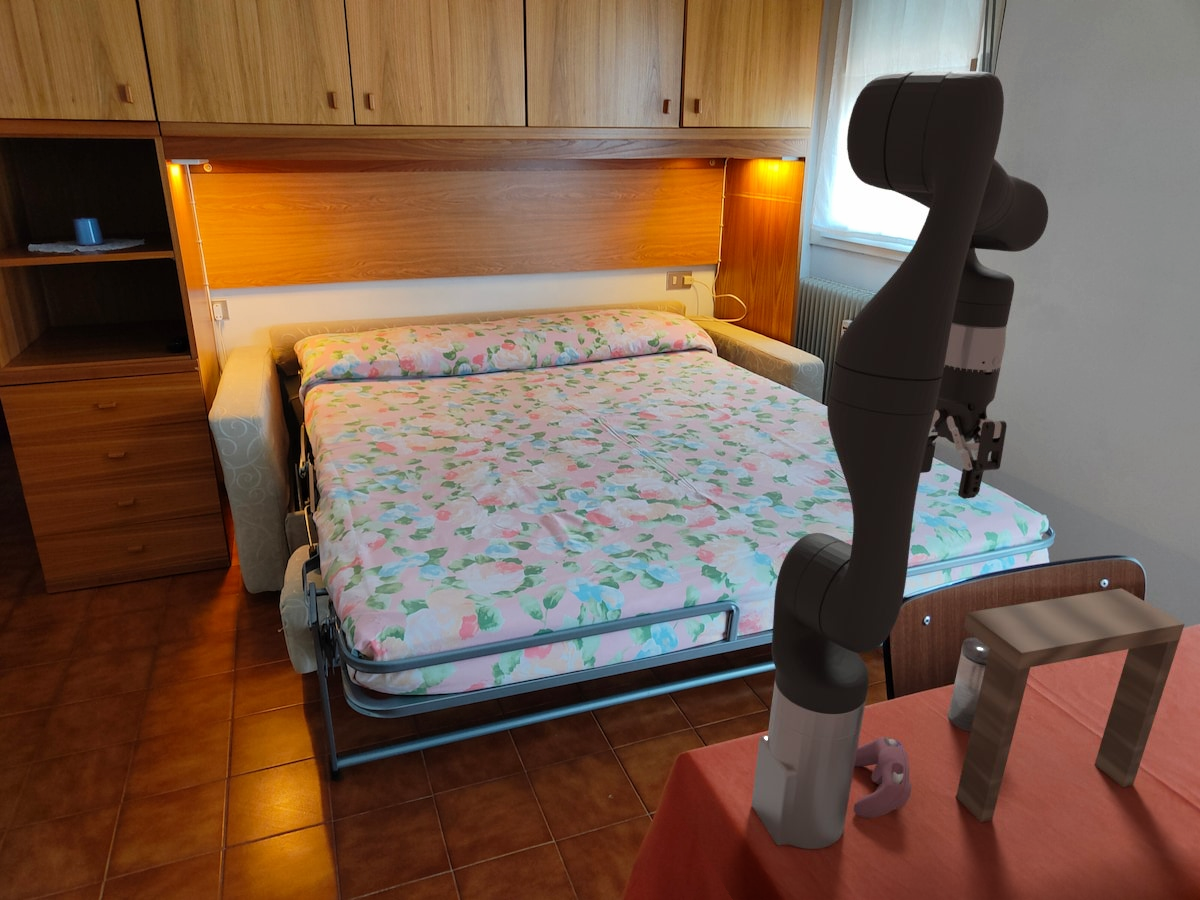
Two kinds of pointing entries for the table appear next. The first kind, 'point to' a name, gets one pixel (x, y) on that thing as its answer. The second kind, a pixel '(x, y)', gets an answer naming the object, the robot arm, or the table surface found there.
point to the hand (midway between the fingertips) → (943, 484)
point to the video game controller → (884, 777)
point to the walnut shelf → (1059, 637)
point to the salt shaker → (968, 683)
